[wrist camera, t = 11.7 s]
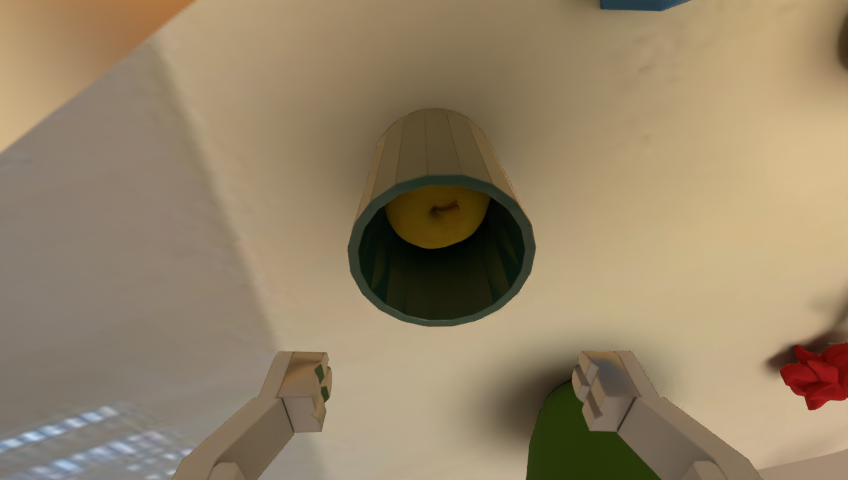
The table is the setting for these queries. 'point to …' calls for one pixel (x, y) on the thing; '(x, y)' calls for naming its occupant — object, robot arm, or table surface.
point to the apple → (437, 214)
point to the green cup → (452, 265)
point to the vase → (578, 446)
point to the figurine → (819, 375)
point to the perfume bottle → (640, 4)
